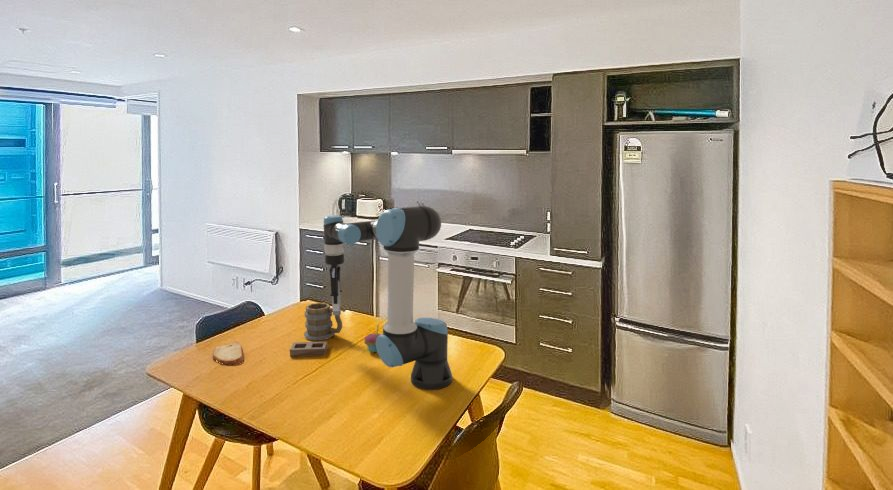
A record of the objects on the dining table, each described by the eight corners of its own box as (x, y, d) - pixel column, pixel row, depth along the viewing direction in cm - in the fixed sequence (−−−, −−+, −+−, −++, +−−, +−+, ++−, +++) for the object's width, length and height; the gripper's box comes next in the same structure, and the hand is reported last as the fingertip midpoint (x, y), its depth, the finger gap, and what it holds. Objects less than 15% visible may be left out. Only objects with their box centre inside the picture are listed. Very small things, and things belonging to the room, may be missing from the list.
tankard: (299, 338, 223) (297, 306, 220) (314, 329, 235) (313, 298, 232) (339, 343, 217) (337, 310, 215) (352, 333, 229) (351, 302, 227)
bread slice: (237, 366, 195) (237, 357, 194) (197, 363, 198) (196, 354, 197) (262, 349, 212) (262, 341, 211) (225, 346, 215) (224, 337, 215)
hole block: (325, 355, 205) (324, 348, 204) (290, 356, 203) (289, 349, 203) (327, 348, 212) (327, 341, 212) (294, 349, 211) (293, 342, 211)
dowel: (340, 315, 205) (339, 282, 202) (332, 315, 204) (331, 282, 202) (341, 312, 208) (339, 280, 205) (333, 313, 207) (332, 280, 205)
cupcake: (386, 346, 214) (386, 320, 212) (382, 354, 206) (381, 326, 204) (367, 345, 215) (366, 319, 213) (361, 353, 207) (361, 326, 205)
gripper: (341, 257, 194) (343, 315, 198) (345, 249, 210) (347, 303, 214) (322, 258, 193) (324, 315, 197) (327, 250, 209) (329, 303, 213)
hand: (336, 309), depth 206 cm, fingers closed on dowel, 3 cm apart
